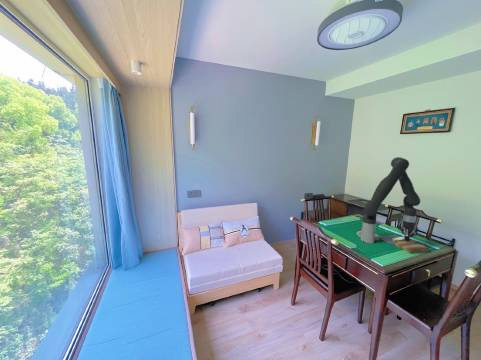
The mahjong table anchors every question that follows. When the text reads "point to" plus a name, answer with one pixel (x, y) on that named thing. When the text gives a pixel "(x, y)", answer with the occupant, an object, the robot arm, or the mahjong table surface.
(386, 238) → the mat
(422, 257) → the mahjong table surface
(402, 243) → the deck
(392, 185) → the robot arm
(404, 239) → the card
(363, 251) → the mahjong table surface
